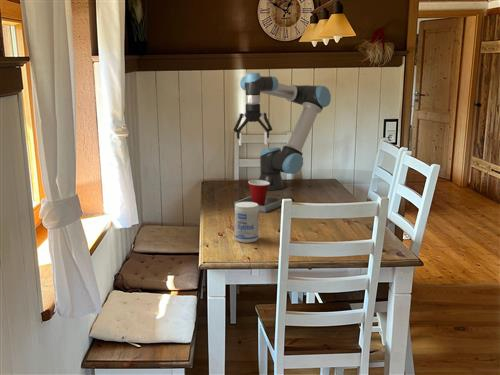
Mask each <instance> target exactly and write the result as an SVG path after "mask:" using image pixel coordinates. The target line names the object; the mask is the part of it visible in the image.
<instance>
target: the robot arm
mask: <svg viewBox="0 0 500 375" xmlns="http://www.w3.org/2000/svg"><path fill="white" fill-rule="evenodd" d="M239 84H240V88H241V89H242V90H243V91H245V103H246V104H245V113H241V112H240V113H239V115H238V119H237V121H236V123H235V125H234V128H233V129H232V131H233V132H235V133H236V139H238V145H239V146H242V132H241V131H242V130H243V129H244V128H245V126H246V125H247V124H248V123H249V122H250V123H253V122H254V123H257V122H258V123H259V125H260V126H261V127H262V128H263V129H264V134H263V136H264V139H263V140H264V142H263V143H264V145H266V146H267V145H268V139H269V137H270V132H272V131H273V126H272V125H271V123H270V121H269V118H268V117H267V112H262V113H261V104H260V103H261V94H264V95H267V96H268V95H269V96H273V97H277V98H278V97H279V98H281V99H286V101H288V102H291V103H294V104H298V105H300V106H301V105H302V107H303V108H302V111H300V112H301V113H300V115H299V117H298V120H297V122H296V124H295V126H294V129H293V131H292V133H291V136H290V137H289V139H288V142H287V144H285V145H283V147H282V148H281V147H267V148H261V150H260V154H259V156H260V157H259V159H260V160H259V161H260V162H259V164H260V165H259V166H260V168H259V170H260V175H259V178H258V180H263V181H267V182H269V183H270V184H269V186H268V189H267V191H276V190H281V189H284V180H283V178H282V173H284V174H290V175H293V174H296V173H299V172H300V171H301V170H302V167H303V166H304V157H303V151H302V150H303V148H304V145H305V143H306V141H307V139H308V137H309V134H310V131H311V130H312V127H313V125H314V123H315V120H316V118H317V116H318V114H321V113H322V111H323V108H326V107H328V106H329V105H330V104H331V101H332V100H331V99H332V96H331V95H332V94H331V91H330V89H329V88H328V87H327V86H325V85H320V84H319V85H311V84H310V85H308V84H307V85H306V84H303V85H296V84H289V85H288V84H283V83H280V82H279V80H278V78H277V77H276V76H272V75H271V76H261V73H259V72H247V73H245V76H243V77H241V79H240V83H239ZM244 117H245V120H244V121H242V120H243V118H244ZM261 117H262V118H263V120H264V122H265V123H264V122H263V121H262V120H261V119H260V118H261ZM241 122H242V123H241ZM240 124H241V125H240ZM265 124H266V125H265Z"/></svg>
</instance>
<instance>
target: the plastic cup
mask: <svg viewBox="0 0 500 375" xmlns="http://www.w3.org/2000/svg"><path fill="white" fill-rule="evenodd" d="M269 184H270V183H269V182H267V181H263V180H259V179H251V180H248V185H249V190H250V196H251V198H252V202H254V203H257V204H258V205H260V206H264V204H265V199H266V197H267V192H268V190H267V189H268V186H269Z"/></svg>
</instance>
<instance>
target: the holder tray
mask: <svg viewBox="0 0 500 375" xmlns="http://www.w3.org/2000/svg"><path fill="white" fill-rule="evenodd" d="M282 199H283V198H276V197H269V196H266V199H265V204H264V206H260V205H258V208H259V213H263V214H266V213H269V212H272V211H274V210H275V209H279V208H281V207H282V206H281V203H282ZM239 202H252V198H251V195H250V196H247V197H244V198H242V199H239V200H237V201H236V200H235V201H234V203H233V205H234V206H233V208H234V209H235V204H236V203H239ZM280 206H281V207H280ZM273 209H274V210H273Z"/></svg>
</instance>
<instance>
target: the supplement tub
mask: <svg viewBox="0 0 500 375" xmlns="http://www.w3.org/2000/svg"><path fill="white" fill-rule="evenodd" d="M259 213H260V212H259V208H258V204H257V203H254V202H239V203H236V204H235V208H234V239H235V241H237V242H240V243H245V244H246V243H248V244H249V243H253V242H257V241H258V240H259V221H260V220H259V216H260V215H259Z"/></svg>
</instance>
